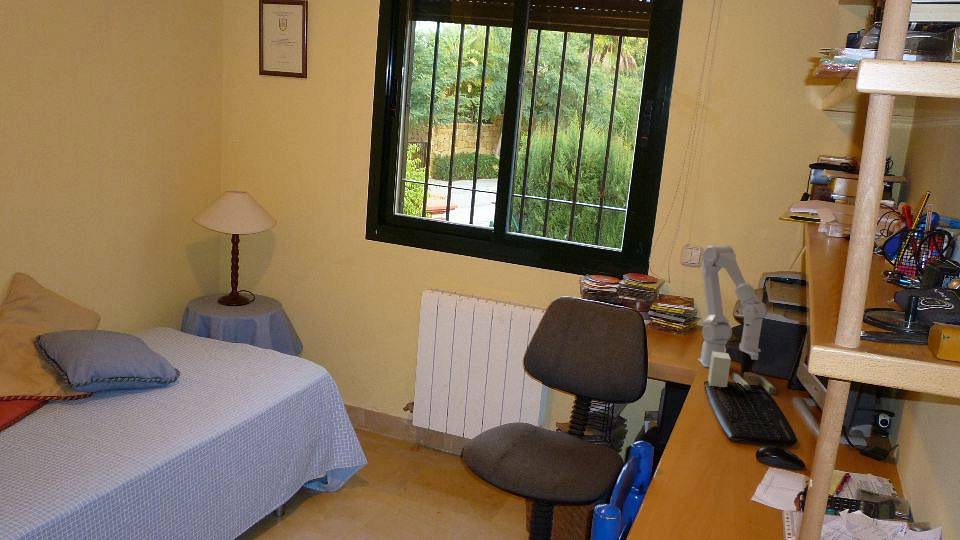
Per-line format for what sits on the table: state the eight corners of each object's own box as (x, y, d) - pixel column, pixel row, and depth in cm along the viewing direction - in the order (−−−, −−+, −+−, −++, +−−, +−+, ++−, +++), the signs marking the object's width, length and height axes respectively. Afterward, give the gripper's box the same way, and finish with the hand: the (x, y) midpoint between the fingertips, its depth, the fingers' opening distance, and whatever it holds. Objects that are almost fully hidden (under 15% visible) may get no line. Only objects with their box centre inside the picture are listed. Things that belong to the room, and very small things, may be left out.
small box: (726, 389, 265) (731, 359, 264) (709, 387, 266) (713, 356, 265) (724, 382, 273) (728, 353, 271) (707, 380, 274) (712, 350, 272)
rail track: (731, 377, 280) (732, 372, 279) (760, 380, 280) (760, 375, 279) (745, 391, 265) (746, 386, 265) (775, 394, 265) (776, 388, 265)
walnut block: (742, 381, 277) (744, 372, 276) (754, 382, 277) (755, 373, 276) (746, 385, 273) (747, 375, 272) (758, 386, 273) (759, 376, 272)
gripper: (769, 343, 272) (763, 381, 274) (755, 332, 286) (749, 368, 288) (748, 341, 272) (742, 379, 274) (735, 330, 286) (730, 366, 288)
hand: (744, 373), depth 281 cm, fingers closed
